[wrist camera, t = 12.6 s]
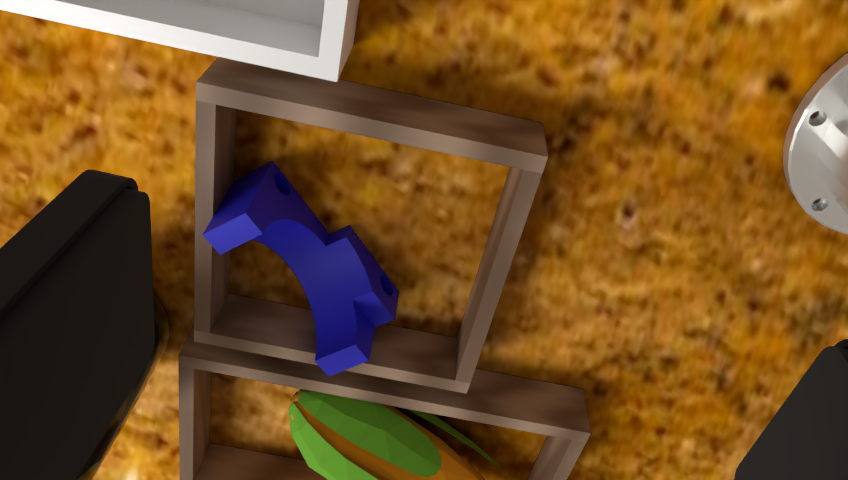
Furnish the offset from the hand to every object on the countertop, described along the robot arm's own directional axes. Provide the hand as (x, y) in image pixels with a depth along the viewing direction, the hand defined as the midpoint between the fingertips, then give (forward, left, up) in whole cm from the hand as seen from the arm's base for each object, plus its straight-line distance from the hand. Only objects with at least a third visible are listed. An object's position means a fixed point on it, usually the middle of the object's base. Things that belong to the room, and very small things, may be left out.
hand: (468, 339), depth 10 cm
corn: (-4, +36, -29) cm, 46 cm away
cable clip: (+5, +20, -29) cm, 36 cm away
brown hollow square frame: (+3, +18, -29) cm, 34 cm away
